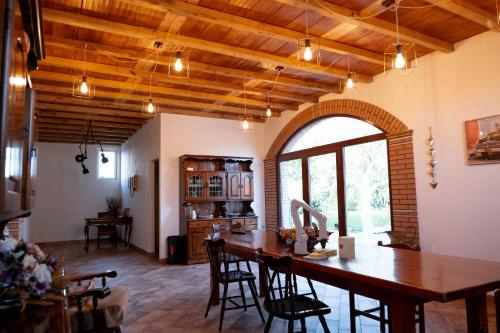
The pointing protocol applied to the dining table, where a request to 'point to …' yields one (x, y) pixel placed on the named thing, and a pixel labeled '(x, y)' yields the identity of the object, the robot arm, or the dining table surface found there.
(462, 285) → the dining table surface
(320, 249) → the deck
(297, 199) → the robot arm
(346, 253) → the supplement box
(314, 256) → the card
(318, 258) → the mat
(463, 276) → the dining table surface
